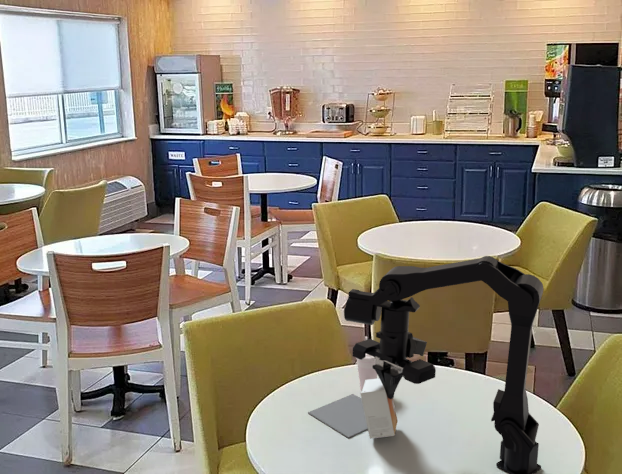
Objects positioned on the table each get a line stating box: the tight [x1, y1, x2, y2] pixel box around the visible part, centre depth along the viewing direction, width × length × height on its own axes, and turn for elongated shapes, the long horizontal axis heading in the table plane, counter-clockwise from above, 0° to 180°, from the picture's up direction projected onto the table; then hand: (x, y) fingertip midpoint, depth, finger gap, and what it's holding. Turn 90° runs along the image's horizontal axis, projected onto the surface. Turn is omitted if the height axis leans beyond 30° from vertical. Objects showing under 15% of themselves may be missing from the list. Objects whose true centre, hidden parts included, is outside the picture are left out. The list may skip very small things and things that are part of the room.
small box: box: [360, 377, 399, 439], centre depth 151 cm, size 8×6×10 cm
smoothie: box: [355, 336, 378, 391], centre depth 171 cm, size 6×6×14 cm
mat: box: [307, 393, 368, 439], centre depth 160 cm, size 14×14×1 cm
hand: (390, 398), depth 146 cm, fingers closed
